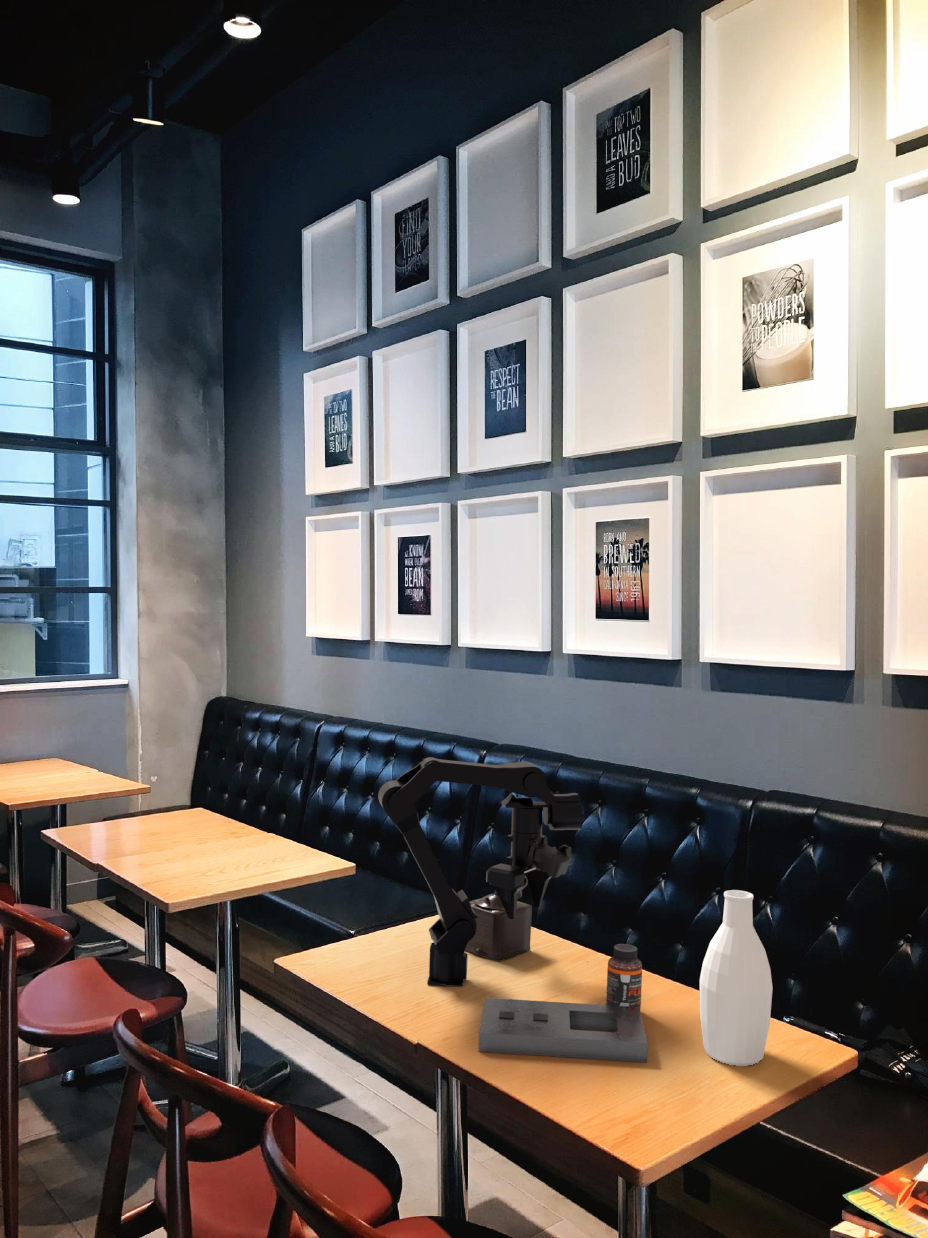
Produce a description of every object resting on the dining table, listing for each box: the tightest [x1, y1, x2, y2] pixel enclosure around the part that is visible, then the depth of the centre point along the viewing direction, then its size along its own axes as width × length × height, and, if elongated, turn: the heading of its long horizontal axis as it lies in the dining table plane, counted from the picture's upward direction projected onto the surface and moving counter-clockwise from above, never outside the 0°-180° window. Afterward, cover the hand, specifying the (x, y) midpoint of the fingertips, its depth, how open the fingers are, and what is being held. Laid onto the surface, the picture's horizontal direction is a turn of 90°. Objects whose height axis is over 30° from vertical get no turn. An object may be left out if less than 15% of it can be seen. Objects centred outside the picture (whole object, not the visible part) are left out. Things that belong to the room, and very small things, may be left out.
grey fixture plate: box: [478, 997, 648, 1063], centre depth 163 cm, size 26×14×3 cm, turn 85°
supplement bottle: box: [605, 943, 643, 1009], centre depth 174 cm, size 6×6×11 cm
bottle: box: [699, 889, 773, 1067], centre depth 158 cm, size 11×11×25 cm
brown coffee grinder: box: [465, 875, 533, 962], centre depth 201 cm, size 16×11×18 cm
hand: (524, 913), depth 189 cm, fingers open, 9 cm apart
